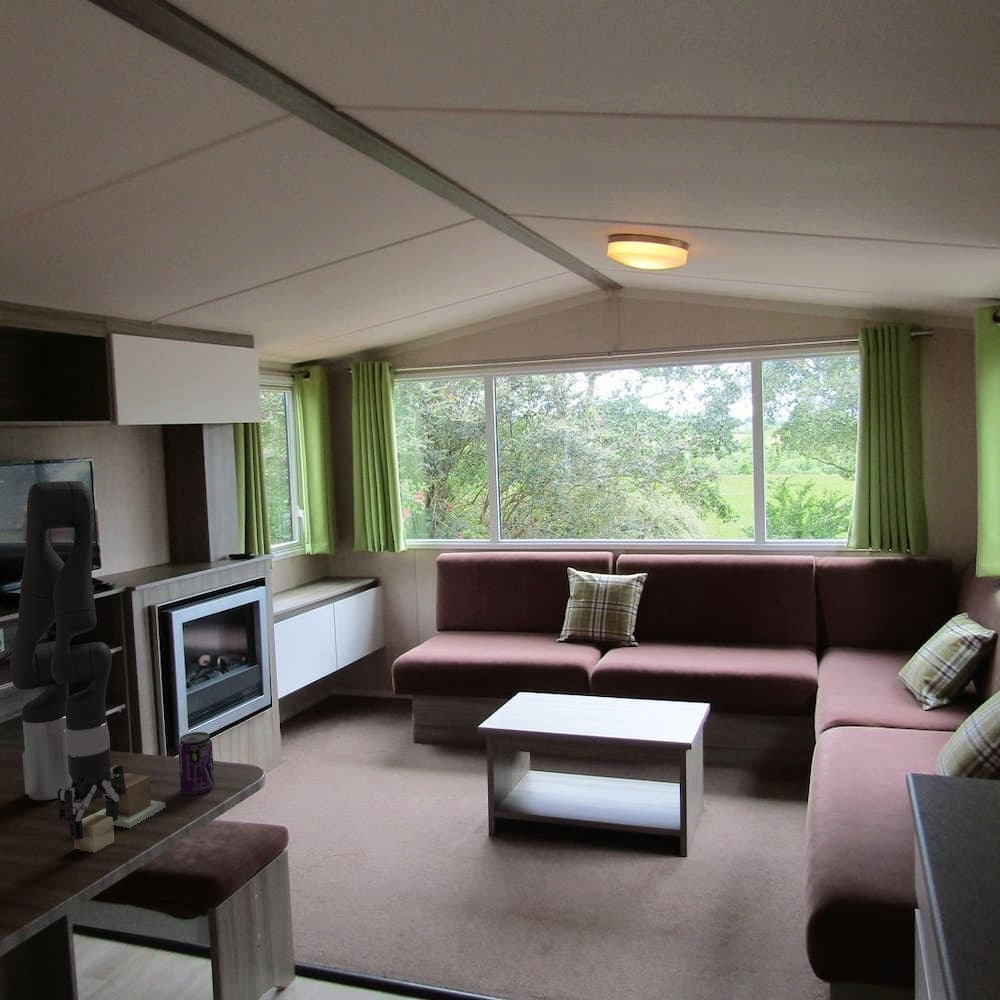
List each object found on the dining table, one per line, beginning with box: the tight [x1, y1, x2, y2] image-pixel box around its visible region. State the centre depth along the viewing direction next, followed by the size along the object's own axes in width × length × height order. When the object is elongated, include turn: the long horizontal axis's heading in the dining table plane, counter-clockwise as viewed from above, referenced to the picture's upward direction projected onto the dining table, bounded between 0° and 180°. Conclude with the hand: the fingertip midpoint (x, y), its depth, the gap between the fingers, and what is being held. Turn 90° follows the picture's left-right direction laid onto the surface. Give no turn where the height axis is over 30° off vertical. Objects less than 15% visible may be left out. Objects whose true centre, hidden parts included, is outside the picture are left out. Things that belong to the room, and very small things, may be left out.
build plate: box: [94, 799, 166, 829], centre depth 195 cm, size 10×10×1 cm
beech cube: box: [73, 813, 115, 854], centre depth 181 cm, size 5×5×5 cm
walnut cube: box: [105, 772, 152, 816], centre depth 195 cm, size 6×6×6 cm
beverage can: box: [177, 731, 216, 795], centre depth 206 cm, size 7×7×12 cm
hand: (95, 829), depth 181 cm, fingers open, 8 cm apart
